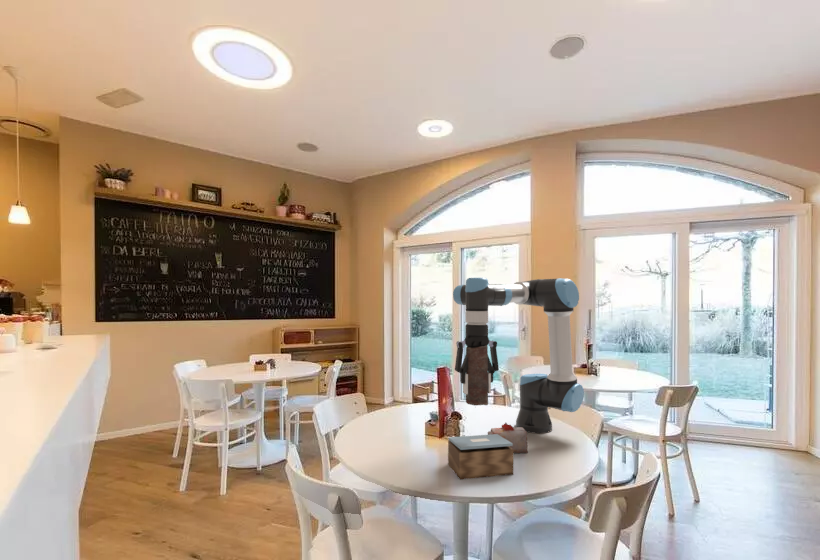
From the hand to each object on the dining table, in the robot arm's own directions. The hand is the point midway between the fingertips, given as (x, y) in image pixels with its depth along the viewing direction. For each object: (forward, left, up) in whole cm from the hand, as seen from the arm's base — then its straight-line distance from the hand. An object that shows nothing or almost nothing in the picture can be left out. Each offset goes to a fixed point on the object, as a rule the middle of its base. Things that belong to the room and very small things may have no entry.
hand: (476, 392), depth 137 cm
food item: (-17, -13, -25) cm, 33 cm away
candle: (0, 0, -4) cm, 4 cm away
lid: (-1, 0, -16) cm, 16 cm away
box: (-1, 0, -25) cm, 25 cm away
